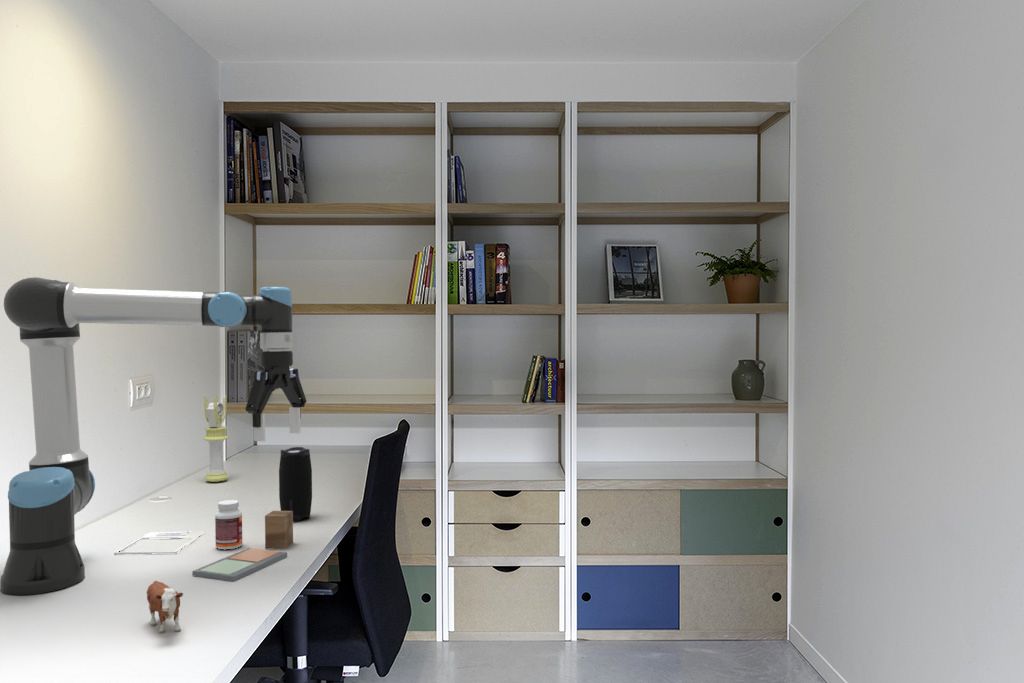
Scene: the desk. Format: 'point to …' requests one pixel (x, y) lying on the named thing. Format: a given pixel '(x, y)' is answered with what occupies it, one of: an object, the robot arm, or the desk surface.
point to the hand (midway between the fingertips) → (277, 437)
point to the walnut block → (279, 529)
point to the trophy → (216, 438)
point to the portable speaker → (295, 482)
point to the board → (240, 564)
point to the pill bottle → (228, 525)
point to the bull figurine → (163, 604)
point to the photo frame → (155, 535)
